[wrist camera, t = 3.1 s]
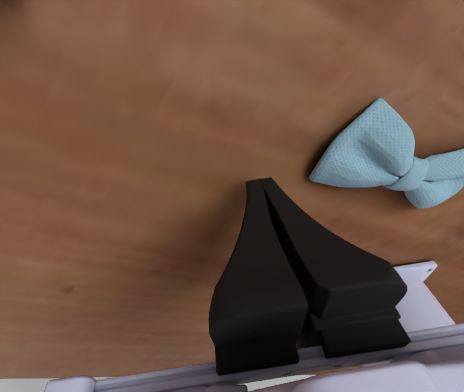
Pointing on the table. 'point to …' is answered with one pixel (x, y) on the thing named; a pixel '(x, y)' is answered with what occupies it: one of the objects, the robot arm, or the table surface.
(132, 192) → the table surface
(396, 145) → the bow tie
